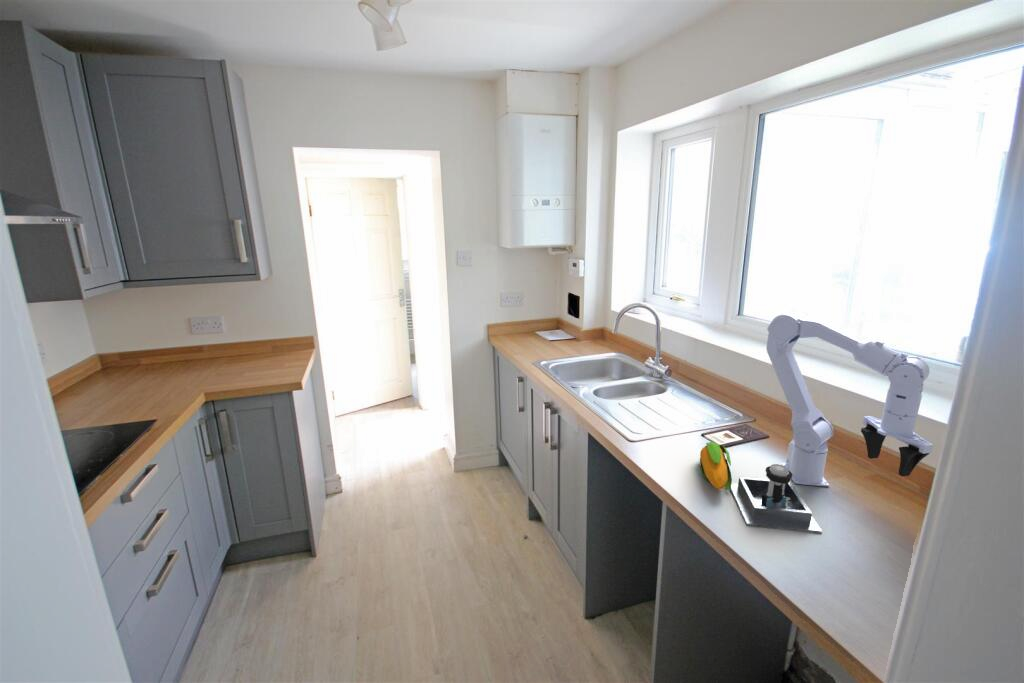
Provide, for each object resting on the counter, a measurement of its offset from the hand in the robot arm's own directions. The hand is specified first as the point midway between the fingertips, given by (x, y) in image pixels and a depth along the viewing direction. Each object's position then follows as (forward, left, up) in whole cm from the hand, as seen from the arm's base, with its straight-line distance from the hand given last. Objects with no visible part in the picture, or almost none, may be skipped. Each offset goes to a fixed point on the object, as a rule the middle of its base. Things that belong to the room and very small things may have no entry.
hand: (887, 466), depth 104 cm
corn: (-6, -35, -11) cm, 37 cm away
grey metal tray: (+5, -25, -10) cm, 27 cm away
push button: (+5, -24, -10) cm, 26 cm away
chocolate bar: (-31, -24, -11) cm, 41 cm away
